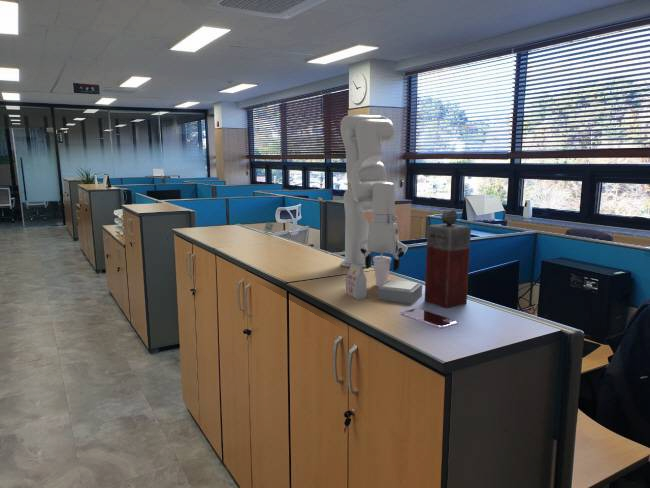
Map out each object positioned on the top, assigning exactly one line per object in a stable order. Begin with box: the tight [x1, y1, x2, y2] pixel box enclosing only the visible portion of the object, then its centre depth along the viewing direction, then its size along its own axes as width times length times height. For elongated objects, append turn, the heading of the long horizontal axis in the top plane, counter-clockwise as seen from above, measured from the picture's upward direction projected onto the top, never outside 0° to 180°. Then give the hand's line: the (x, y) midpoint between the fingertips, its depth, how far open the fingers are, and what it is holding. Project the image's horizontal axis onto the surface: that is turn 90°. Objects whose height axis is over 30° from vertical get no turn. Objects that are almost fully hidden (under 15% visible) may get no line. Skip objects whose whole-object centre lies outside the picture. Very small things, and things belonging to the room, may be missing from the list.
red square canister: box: [424, 209, 472, 309], centre depth 142 cm, size 9×11×28 cm
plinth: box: [377, 279, 423, 305], centre depth 149 cm, size 11×11×4 cm
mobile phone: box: [399, 307, 459, 329], centre depth 128 cm, size 8×1×15 cm
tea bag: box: [345, 263, 367, 300], centre depth 149 cm, size 4×7×10 cm, turn 26°
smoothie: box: [372, 253, 392, 288], centre depth 162 cm, size 6×6×14 cm
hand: (382, 269), depth 162 cm, fingers open, 9 cm apart
